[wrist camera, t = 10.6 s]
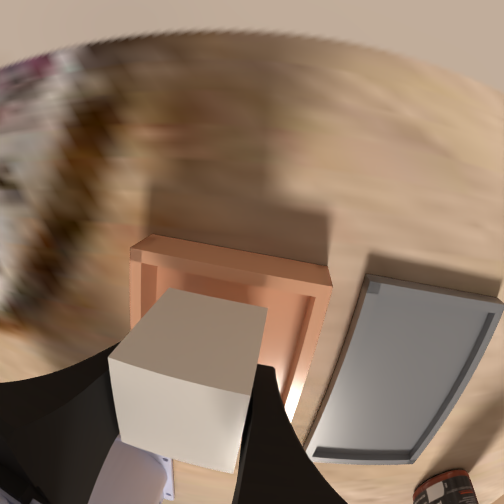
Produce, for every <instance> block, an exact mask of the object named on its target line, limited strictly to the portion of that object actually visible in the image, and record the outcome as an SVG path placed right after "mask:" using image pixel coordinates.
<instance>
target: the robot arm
mask: <svg viewBox="0 0 504 504" xmlns="http://www.w3.org/2000/svg"><path fill="white" fill-rule="evenodd" d="M119 344H120V342H119V343H117V344H115V345H114V346H112V347H110V348H108V349H106V350H104V351H102V352H100V353H98V354H97V355H95V356H93V357H90V358H88V359H86V360H84V361H82V362H79V363H77V364H75V365H73V366H70V367H68V368H65V369H62V370H60V371H57V372H53V373H50V374H47V375H43V376H39V377H35V378H30V379H26V380H20V381H14V382H5V383H0V504H162V502H163V499H167V500H171V501H172V500H174V498H175V495H174V480H173V460H172V459H171V458H168V457H165V456H161V455H158V454H155V453H152V452H149V451H146V450H143V449H140V448H137V447H135V446H132V445H129V444H126V443H124V442H122V440H121V435H120V434H119V433H120V430H119V425H118V420H117V415H116V409H115V404H114V398H113V391H112V385H111V378H110V371H109V363H108V356H109V355H110V354H111V353H112V352H113V351H114V349H115V348H116V347H117V346H118V345H119ZM232 504H348V503H347V502H346V501H345V500H343V499H342V497H341V496H340V495H339V494H338V493H337V492H336V491H335V490H334V489H333V488H332V487H331V486H330V484H329V483H328V482H327V481H326V480H325V479H324V477H323V476H322V475H321V473H320V472H319V471H318V469H317V468H316V467H315V465H314V464H313V462H312V461H311V460H310V458H309V456H308V455H307V453H306V452H305V450H304V448H303V447H302V445H301V443H300V441H299V439H298V438H297V436H296V434H295V431H294V429H293V427H292V425H291V423H290V420H289V418H288V415H287V413H286V410H285V407H284V404H283V401H282V398H281V395H280V392H279V388H278V383H277V378H276V370H275V368H274V367H273V366H267V365H262V364H257V368H256V372H255V377H254V382H253V387H252V392H251V397H250V401H249V406H248V411H247V415H246V420H245V424H244V429H243V433H242V441H241V450H240V460H239V469H238V477H237V483H236V488H235V492H234V496H233V501H232Z"/></svg>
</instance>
